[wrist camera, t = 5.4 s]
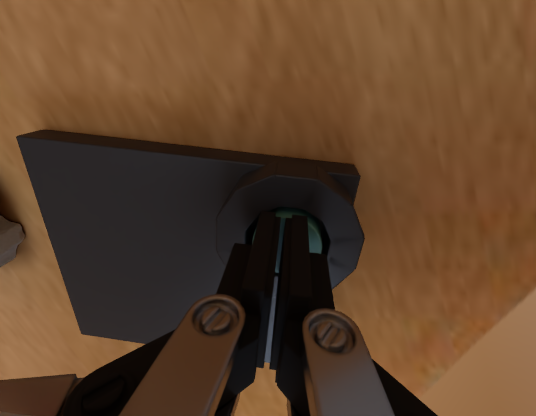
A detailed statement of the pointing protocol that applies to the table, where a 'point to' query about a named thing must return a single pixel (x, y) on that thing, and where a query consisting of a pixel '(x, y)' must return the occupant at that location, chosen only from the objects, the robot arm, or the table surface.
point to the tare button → (313, 230)
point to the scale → (171, 222)
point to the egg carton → (9, 240)
